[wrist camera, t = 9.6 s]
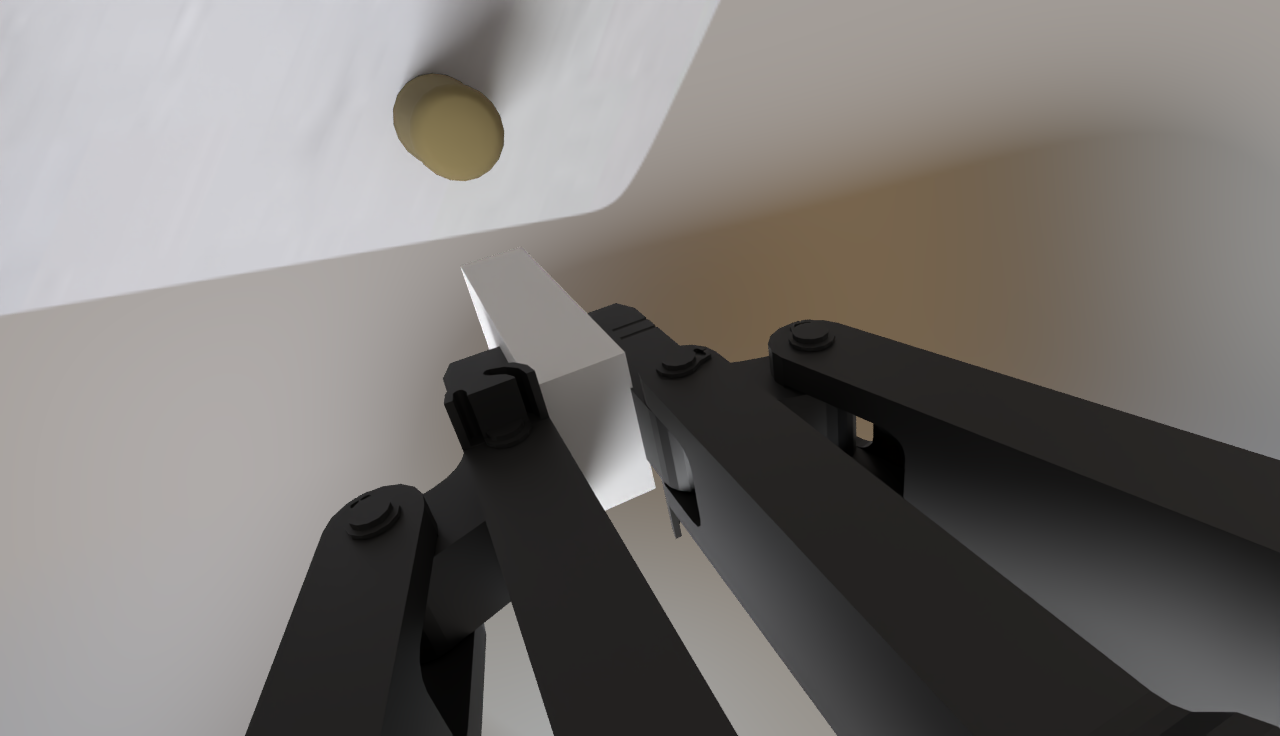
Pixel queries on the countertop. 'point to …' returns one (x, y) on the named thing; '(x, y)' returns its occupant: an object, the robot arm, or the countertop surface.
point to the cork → (448, 126)
